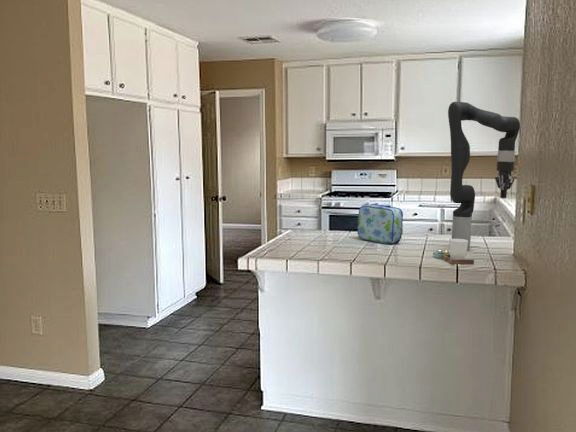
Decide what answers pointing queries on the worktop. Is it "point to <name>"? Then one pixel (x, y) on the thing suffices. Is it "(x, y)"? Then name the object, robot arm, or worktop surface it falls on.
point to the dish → (439, 255)
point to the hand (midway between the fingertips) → (503, 198)
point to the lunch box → (380, 223)
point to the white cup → (458, 249)
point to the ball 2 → (445, 252)
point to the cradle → (453, 262)
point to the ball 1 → (439, 251)
